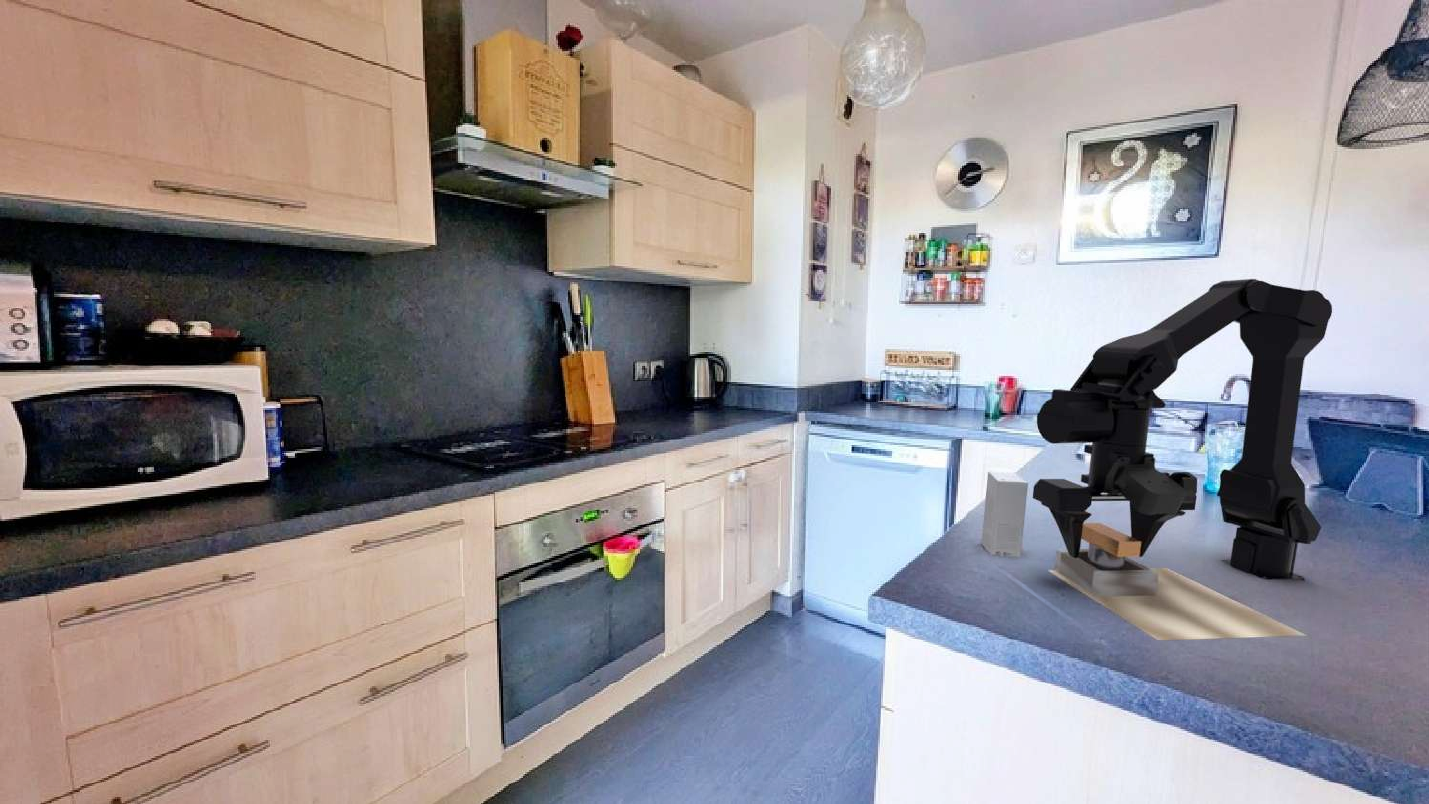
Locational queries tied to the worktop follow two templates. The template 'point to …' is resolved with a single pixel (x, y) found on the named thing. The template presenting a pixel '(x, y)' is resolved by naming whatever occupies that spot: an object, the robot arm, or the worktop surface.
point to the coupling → (1108, 546)
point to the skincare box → (1004, 514)
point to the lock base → (1165, 602)
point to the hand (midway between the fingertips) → (1105, 556)
